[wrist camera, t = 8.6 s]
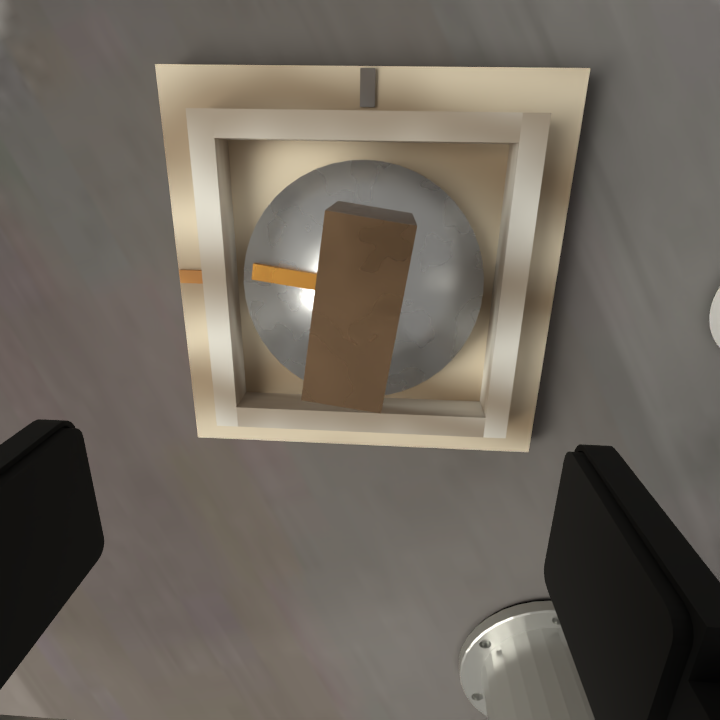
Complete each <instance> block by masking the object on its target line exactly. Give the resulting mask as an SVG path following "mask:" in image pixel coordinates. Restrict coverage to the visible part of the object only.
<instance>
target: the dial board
mask: <svg viewBox="0 0 720 720" xmlns="http://www.w3.org/2000/svg"><path fill="white" fill-rule="evenodd" d="M155 68H156V76H157V85H158V94H159V102H160V111H161V120H162V128H163V137H164V146H165V154H166V163H167V171H168V180H169V189H170V197H171V206H172V215H173V223H174V232H175V241H176V249H177V258H178V267H179V275H180V284H181V293H182V301H183V310H184V319H185V327H186V336H187V345H188V353H189V362H190V371H191V379H192V388H193V397H194V405H195V414H196V423H197V431H198V437H206V438H228V439H250V440H272V441H294V442H316V443H338V444H360V445H382V446H404V447H426V448H448V449H470V450H493V451H515V452H529V446H530V439H531V433H532V427H533V421H534V415H535V408H536V402H537V396H538V390H539V384H540V377H541V371H542V365H543V359H544V353H545V346H546V340H547V334H548V328H549V322H550V315H551V309H552V303H553V297H554V291H555V285H556V278H557V272H558V266H559V260H560V254H561V247H562V241H563V235H564V229H565V223H566V216H567V210H568V204H569V198H570V192H571V185H572V179H573V173H574V167H575V161H576V154H577V148H578V142H579V136H580V130H581V124H582V117H583V111H584V105H585V99H586V93H587V86H588V80H589V74H590V68H523V67H411V66H298V65H186V64H155ZM348 160H374V161H384V162H388V163H392V164H396V165H400V166H402V167H405V168H407V169H410V170H412V171H415V172H417V173H418V174H420V175H422V176H424V177H425V178H427V179H429V180H431V181H432V182H433V183H434V184H436V185H437V186H438V187H440V188H441V189H442V190H444V191H445V192H446V194H447V195H448V196H449V197H450V198H451V199H452V200H453V201H454V202H455V203H456V204H457V205H458V207H459V208H460V210H461V211H462V212H463V214H464V215H465V216H466V218H467V220H468V222H469V224H470V226H471V227H472V229H473V231H474V234H475V237H476V239H477V242H478V245H479V248H480V253H481V257H482V261H483V273H484V286H483V297H482V302H481V308H480V311H479V314H478V317H477V320H476V323H475V325H474V327H473V330H472V332H471V334H470V336H469V338H468V339H467V341H466V342H465V344H464V345H463V347H462V348H461V350H460V351H459V352H458V353H457V355H456V356H455V357H454V358H453V359H452V360H451V361H450V362H449V363H448V364H447V365H446V366H445V367H444V368H443V369H442V370H441V371H439V372H438V373H436V374H435V375H434V376H432V377H431V378H429V379H428V380H426V381H424V382H422V383H420V384H418V385H417V386H414V387H412V388H409V389H407V390H404V391H401V392H397V393H393V394H389V395H384V401H383V406H382V411H381V414H380V413H374V412H368V411H362V410H356V409H350V408H344V407H338V406H332V405H326V404H320V403H314V402H308V401H302V400H301V397H302V389H303V381H304V380H302V379H301V378H299V377H298V376H296V375H295V374H293V373H292V372H291V371H289V370H288V369H287V368H286V367H285V366H283V365H282V364H281V363H280V362H279V361H278V360H277V359H276V358H275V357H274V355H273V354H272V353H271V352H270V351H269V349H268V348H267V347H266V345H265V344H264V342H263V341H262V339H261V338H260V336H259V334H258V332H257V330H256V329H255V326H254V324H253V321H252V319H251V316H250V314H249V310H248V306H247V302H246V297H245V290H244V264H245V257H246V252H247V248H248V244H249V241H250V238H251V235H252V233H253V231H254V228H255V226H256V224H257V222H258V220H259V219H260V217H261V215H262V214H263V212H264V210H265V209H266V208H267V207H268V205H269V204H270V203H271V202H272V201H273V199H274V198H275V197H276V196H277V195H278V194H279V193H280V192H281V191H282V190H283V189H285V188H286V187H287V186H288V185H289V184H291V183H292V182H294V181H295V180H297V179H298V178H300V177H301V176H303V175H305V174H307V173H309V172H311V171H313V170H315V169H317V168H320V167H323V166H326V165H329V164H332V163H338V162H343V161H348Z"/></svg>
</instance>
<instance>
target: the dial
mask: <svg viewBox="0 0 720 720" xmlns="http://www.w3.org/2000/svg"><path fill="white" fill-rule="evenodd" d="M483 286H484V273H483V261H482V257H481V253H480V248H479V245H478V242H477V239H476V237H475V234H474V231H473V229H472V227H471V226H470V224H469V222H468V220H467V218H466V216H465V215H464V214H463V212H462V211H461V210H460V208H459V207H458V205H457V204H456V203H455V202H454V201H453V200H452V199H451V198H450V197H449V196H448V195H447V194H446V192H445V191H444V190H442V189H441V188H440V187H438V186H437V185H436V184H434V183H433V182H432V181H431V180H429V179H427V178H425V177H424V176H422V175H420V174H418V173H417V172H415V171H412V170H410V169H407V168H405V167H402V166H400V165H396V164H392V163H388V162H384V161H374V160H348V161H343V162H338V163H332V164H329V165H326V166H323V167H320V168H317V169H315V170H313V171H311V172H309V173H307V174H305V175H303V176H301V177H300V178H298V179H297V180H295V181H294V182H292V183H291V184H289V185H288V186H287V187H286V188H285V189H283V190H282V191H281V192H280V193H279V194H278V195H277V196H276V197H275V198H274V199H273V201H272V202H271V203H270V204H269V205H268V207H267V208H266V209H265V210H264V212H263V214H262V215H261V217H260V219H259V220H258V222H257V224H256V226H255V228H254V231H253V233H252V235H251V238H250V241H249V244H248V248H247V252H246V257H245V264H244V290H245V297H246V302H247V306H248V310H249V314H250V316H251V319H252V321H253V324H254V326H255V329H256V330H257V332H258V334H259V336H260V338H261V339H262V341H263V342H264V344H265V345H266V347H267V348H268V349H269V351H270V352H271V353H272V354H273V355H274V357H275V358H276V359H277V360H278V361H279V362H280V363H281V364H282V365H283V366H285V367H286V368H287V369H288V370H289V371H291V372H292V373H293V374H295V375H296V376H298V377H299V378H301V379H302V380H304V381H303V389H302V397H301V400H302V401H308V402H314V403H320V404H326V405H332V406H338V407H344V408H350V409H356V410H362V411H368V412H374V413H380V414H381V411H382V406H383V401H384V395H389V394H393V393H397V392H401V391H404V390H407V389H409V388H412V387H414V386H417V385H418V384H420V383H422V382H424V381H426V380H428V379H429V378H431V377H432V376H434V375H435V374H436V373H438V372H439V371H441V370H442V369H443V368H444V367H445V366H446V365H447V364H448V363H449V362H450V361H451V360H452V359H453V358H454V357H455V356H456V355H457V353H458V352H459V351H460V350H461V348H462V347H463V345H464V344H465V342H466V341H467V339H468V338H469V336H470V334H471V332H472V330H473V327H474V325H475V323H476V320H477V317H478V314H479V311H480V308H481V302H482V297H483Z"/></svg>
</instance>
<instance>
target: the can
mask: <svg viewBox="0 0 720 720" xmlns="http://www.w3.org/2000/svg"><path fill="white" fill-rule="evenodd" d="M709 323H710V330H711V333H712V336H713V338H714V340H715V342H716V343H717V345H718V346H719V347H720V287H719V289H718V291H717V293H716V294H715V297H714V299H713V302H712V305H711V309H710V316H709Z"/></svg>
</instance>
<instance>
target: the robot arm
mask: <svg viewBox="0 0 720 720" xmlns="http://www.w3.org/2000/svg"><path fill="white" fill-rule="evenodd" d="M103 547H104V536H103V531H102V526H101V521H100V516H99V512H98V507H97V502H96V497H95V492H94V487H93V482H92V477H91V472H90V467H89V463H88V458H87V453H86V448H85V443H84V438H83V435H82V432H81V431H80V430H79V429H76V428H75V426H74V425H73V424H72V423H71V422H69V421H62V420H36V421H34V422H32V423H31V424H29V425H28V426H26V427H25V428H23V429H22V430H21V431H19V432H18V433H16V434H15V435H14V436H12V437H11V438H9V439H8V440H6V441H5V442H4V443H2V444H1V445H0V689H1V688H2V687H3V685H4V684H5V683H6V681H7V680H8V679H9V677H10V676H11V675H12V673H13V672H14V671H15V670H16V668H17V667H18V666H19V664H20V663H21V662H22V660H23V659H24V658H25V656H26V655H27V654H28V652H29V651H30V650H31V648H32V647H33V646H34V644H35V643H36V642H37V640H38V639H39V638H40V636H41V635H42V634H43V632H44V631H45V630H46V628H47V627H48V626H49V624H50V623H51V622H52V620H53V619H54V618H55V616H56V615H57V614H58V612H59V611H60V610H61V608H62V607H63V606H64V604H65V603H66V602H67V600H68V599H69V598H70V596H71V595H72V594H73V592H74V591H75V590H76V589H77V587H78V586H79V585H80V583H81V582H82V581H83V579H84V578H85V577H86V575H87V574H88V573H89V571H90V570H91V569H92V567H93V566H94V565H95V563H96V562H97V561H98V559H99V558H100V556H101V554H102V551H103ZM544 577H545V583H546V586H547V589H548V592H549V595H550V597H551V600H552V601H535V602H529V603H524V604H519V605H515V606H513V607H510V608H507V609H504V610H501V611H500V612H498V613H496V614H494V615H492V616H490V617H488V618H487V619H486V620H484V621H483V622H482V623H480V624H479V625H478V626H477V627H476V628H475V629H474V630H473V631H472V632H471V633H470V634H469V636H468V637H467V639H466V640H465V642H464V644H463V646H462V648H461V652H460V656H459V674H460V680H461V686H462V688H463V690H464V693H465V695H466V697H467V698H468V699H469V701H470V702H471V703H472V705H473V706H474V707H476V708H477V709H478V710H479V711H480V712H481V713H482V714H484V715H486V716H487V717H488V720H720V582H719V581H718V580H717V578H716V577H715V576H714V574H713V573H712V572H711V571H710V569H709V568H708V567H707V566H706V564H705V563H704V562H703V560H702V559H701V558H700V557H699V555H698V554H697V553H696V552H695V550H694V549H693V548H692V546H691V545H690V544H689V543H688V541H687V540H686V539H685V537H684V536H683V535H682V534H681V532H680V531H679V530H678V529H677V527H676V526H675V525H674V523H673V522H672V521H671V520H670V518H669V517H668V516H667V515H666V513H665V512H664V511H663V509H662V508H661V507H660V506H659V504H658V503H657V502H656V501H655V499H654V498H653V497H652V495H651V494H650V493H649V492H648V490H647V489H646V488H645V486H644V485H643V484H642V483H641V481H640V480H639V479H638V478H637V476H636V475H635V474H634V472H633V471H632V470H631V469H630V467H629V466H628V465H627V464H626V462H625V461H624V460H623V458H622V457H621V456H620V455H619V453H618V452H617V451H616V450H615V449H614V448H613V447H612V446H600V445H578V446H577V447H576V449H575V452H568V453H567V454H566V455H565V459H564V463H563V469H562V474H561V479H560V485H559V490H558V495H557V501H556V506H555V511H554V516H553V522H552V527H551V532H550V538H549V543H548V548H547V554H546V559H545V565H544ZM0 720H66V719H52V718H38V717H24V716H11V715H0Z"/></svg>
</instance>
